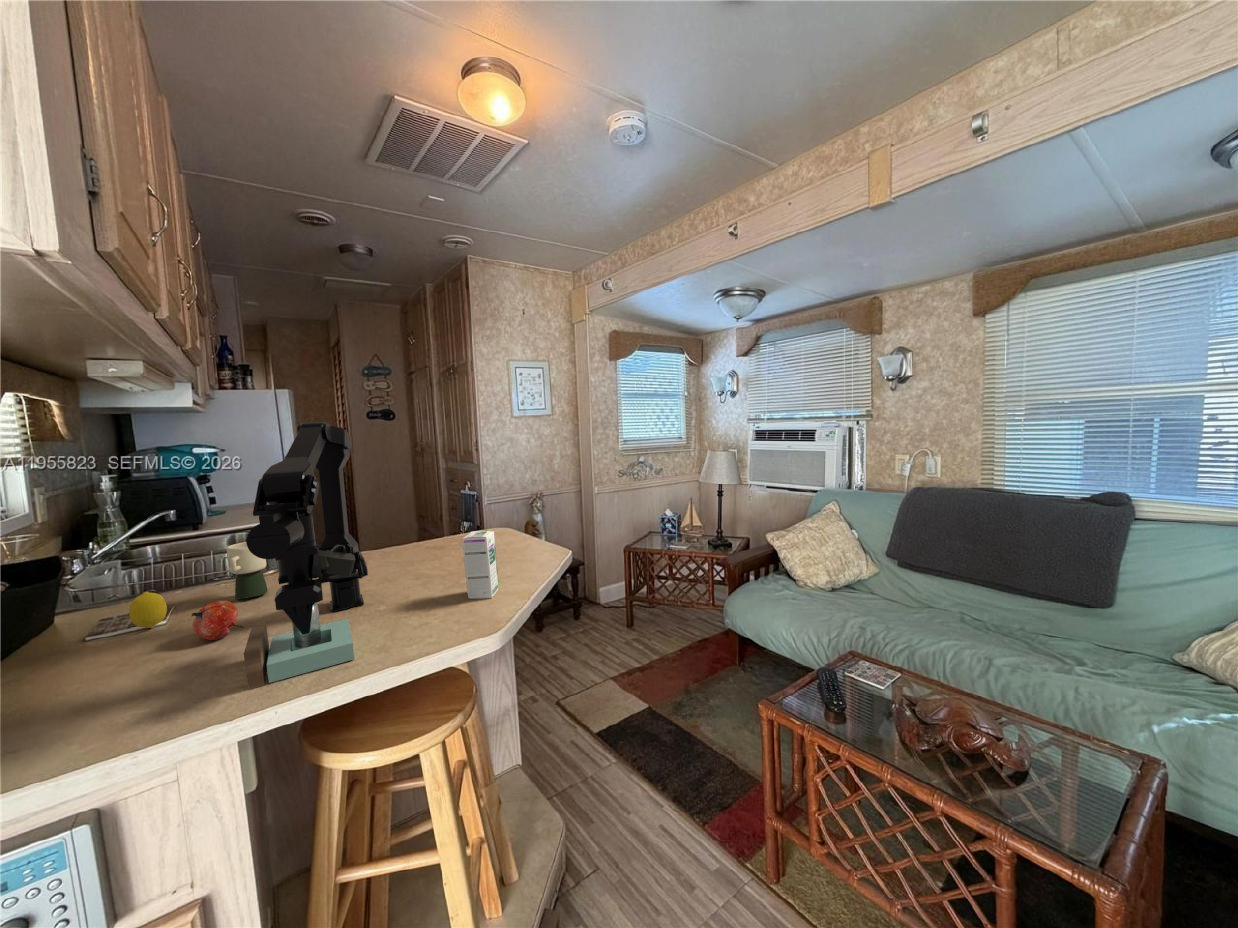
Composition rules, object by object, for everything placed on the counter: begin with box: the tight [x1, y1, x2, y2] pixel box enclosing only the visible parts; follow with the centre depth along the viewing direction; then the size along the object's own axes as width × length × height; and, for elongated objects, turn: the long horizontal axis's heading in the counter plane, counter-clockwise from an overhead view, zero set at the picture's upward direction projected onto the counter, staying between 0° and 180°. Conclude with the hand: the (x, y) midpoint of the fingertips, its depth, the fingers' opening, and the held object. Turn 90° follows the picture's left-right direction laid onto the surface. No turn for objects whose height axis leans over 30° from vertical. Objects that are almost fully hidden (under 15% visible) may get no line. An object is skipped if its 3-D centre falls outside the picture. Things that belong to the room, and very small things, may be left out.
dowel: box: [291, 602, 322, 648], centre depth 83 cm, size 4×4×8 cm
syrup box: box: [461, 529, 500, 600], centre depth 109 cm, size 6×6×14 cm
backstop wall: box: [243, 622, 270, 691], centre depth 79 cm, size 12×2×6 cm, turn 33°
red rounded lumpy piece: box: [191, 599, 243, 641], centre depth 93 cm, size 7×7×10 cm
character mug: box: [225, 541, 269, 600], centre depth 114 cm, size 11×7×13 cm, turn 8°
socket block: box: [267, 618, 355, 684], centre depth 83 cm, size 12×12×3 cm
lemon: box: [128, 591, 168, 629], centre depth 98 cm, size 6×6×8 cm
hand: (306, 628), depth 83 cm, fingers closed on dowel, 4 cm apart
